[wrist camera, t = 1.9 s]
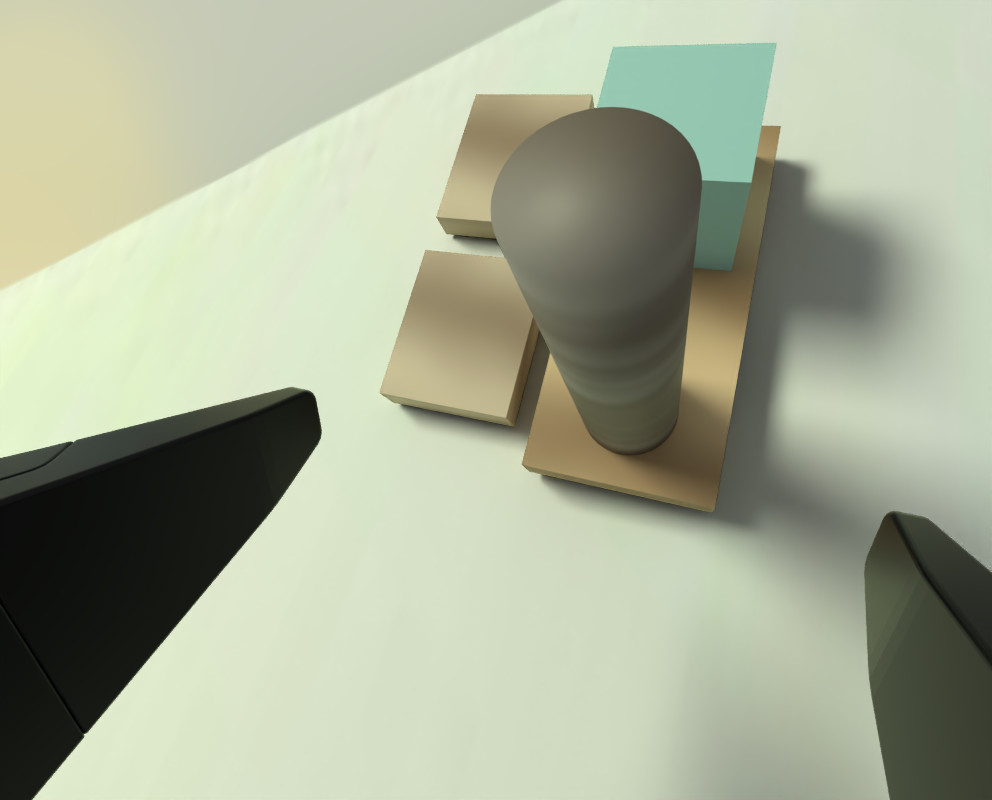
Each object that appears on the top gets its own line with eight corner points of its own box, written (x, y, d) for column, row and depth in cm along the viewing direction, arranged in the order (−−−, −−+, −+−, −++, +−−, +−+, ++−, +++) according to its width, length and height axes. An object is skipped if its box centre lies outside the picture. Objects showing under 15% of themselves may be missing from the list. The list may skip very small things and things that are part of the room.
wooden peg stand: (711, 513, 18) (797, 391, 7) (529, 471, 20) (358, 323, 9) (774, 150, 21) (905, -350, 10) (611, 145, 23) (564, -276, 12)
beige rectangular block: (514, 426, 21) (505, 417, 19) (393, 402, 22) (379, 392, 21) (595, 117, 24) (592, 94, 23) (484, 115, 25) (476, 94, 24)
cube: (731, 271, 19) (751, 182, 15) (596, 258, 20) (579, 174, 16) (752, 155, 20) (776, 42, 16) (622, 151, 21) (612, 46, 17)
